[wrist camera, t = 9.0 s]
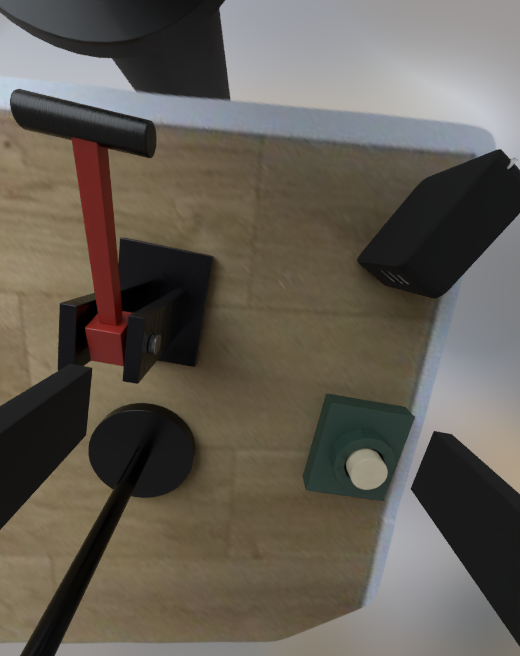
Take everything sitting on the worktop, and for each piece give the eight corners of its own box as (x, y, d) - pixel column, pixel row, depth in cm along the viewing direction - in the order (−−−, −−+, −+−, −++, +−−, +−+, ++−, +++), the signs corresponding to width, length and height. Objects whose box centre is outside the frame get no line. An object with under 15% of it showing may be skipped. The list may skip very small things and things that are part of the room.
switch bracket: (125, 237, 30) (23, 229, 16) (214, 256, 30) (187, 262, 17) (115, 349, 33) (23, 418, 19) (197, 363, 33) (162, 439, 20)
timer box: (326, 393, 35) (336, 411, 31) (405, 406, 36) (424, 426, 32) (302, 476, 38) (308, 502, 34) (376, 487, 39) (390, 513, 35)
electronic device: (353, 260, 31) (401, 266, 21) (421, 178, 29) (507, 144, 20) (382, 285, 32) (440, 301, 22) (450, 206, 30) (545, 186, 20)
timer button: (351, 445, 33) (356, 456, 31) (385, 450, 33) (392, 461, 31) (341, 475, 34) (346, 487, 32) (374, 480, 34) (381, 492, 32)
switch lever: (36, 90, 13) (-5, 86, 11) (160, 120, 14) (141, 121, 12) (83, 334, 21) (64, 356, 20) (160, 347, 22) (148, 370, 20)
